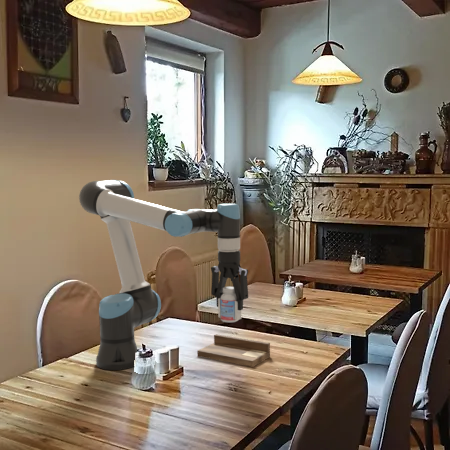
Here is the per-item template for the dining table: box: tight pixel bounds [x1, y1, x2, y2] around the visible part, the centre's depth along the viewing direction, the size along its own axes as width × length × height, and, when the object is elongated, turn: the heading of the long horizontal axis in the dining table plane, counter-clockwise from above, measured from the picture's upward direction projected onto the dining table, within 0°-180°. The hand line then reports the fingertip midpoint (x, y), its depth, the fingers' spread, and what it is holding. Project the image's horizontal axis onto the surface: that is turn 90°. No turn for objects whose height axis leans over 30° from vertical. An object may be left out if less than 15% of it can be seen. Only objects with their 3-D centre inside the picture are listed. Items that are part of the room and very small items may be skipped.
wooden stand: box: [196, 333, 271, 367], centre depth 210 cm, size 12×23×5 cm, turn 56°
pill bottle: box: [220, 286, 239, 323], centre depth 198 cm, size 6×6×11 cm
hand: (229, 317), depth 199 cm, fingers closed on pill bottle, 6 cm apart
